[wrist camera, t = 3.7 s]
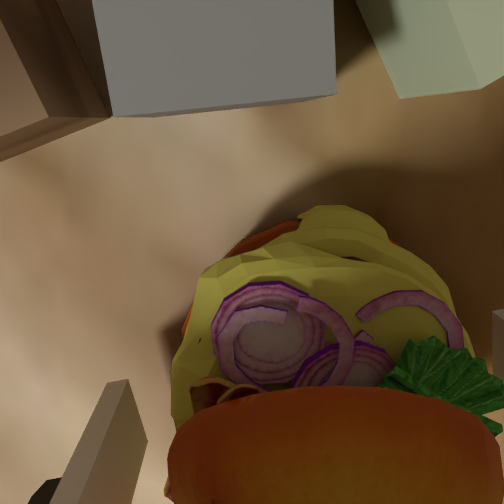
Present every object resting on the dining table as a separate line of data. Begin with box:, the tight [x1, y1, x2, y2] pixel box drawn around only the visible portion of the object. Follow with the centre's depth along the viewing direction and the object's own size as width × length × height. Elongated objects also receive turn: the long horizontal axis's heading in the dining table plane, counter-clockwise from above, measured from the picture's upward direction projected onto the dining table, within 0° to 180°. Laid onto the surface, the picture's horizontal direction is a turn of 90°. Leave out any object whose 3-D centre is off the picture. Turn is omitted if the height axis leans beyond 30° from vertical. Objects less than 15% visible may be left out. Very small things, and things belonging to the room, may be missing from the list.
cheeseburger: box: [164, 205, 504, 504], centre depth 13 cm, size 10×11×10 cm
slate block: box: [92, 0, 337, 117], centre depth 11 cm, size 5×5×5 cm
